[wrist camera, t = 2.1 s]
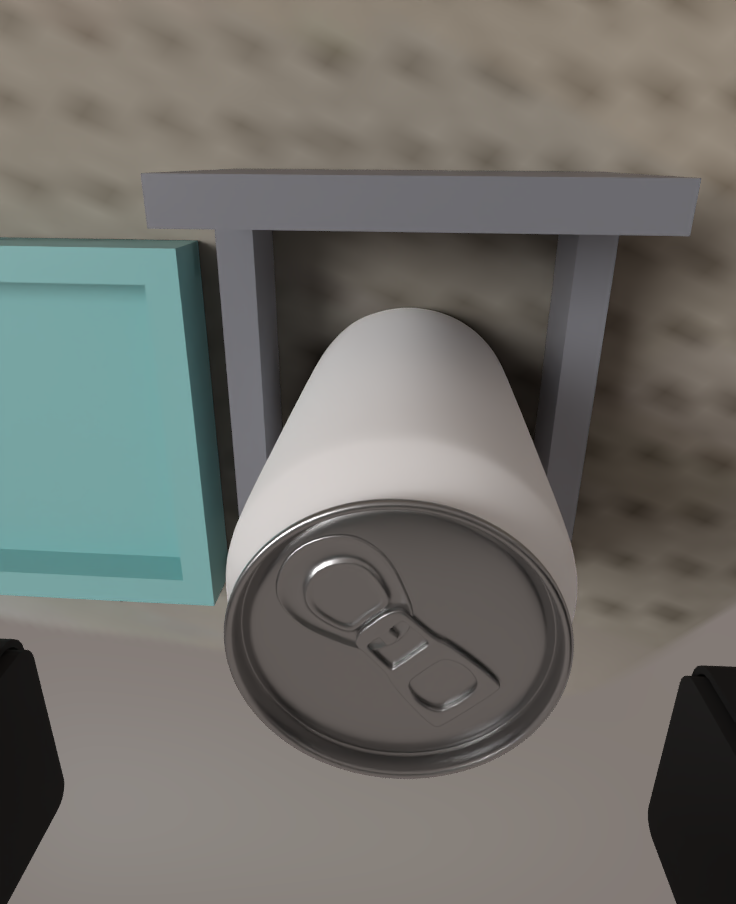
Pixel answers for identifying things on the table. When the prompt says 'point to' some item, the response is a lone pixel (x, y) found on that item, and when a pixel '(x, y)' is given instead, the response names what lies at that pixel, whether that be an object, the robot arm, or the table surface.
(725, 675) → the robot arm
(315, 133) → the table surface
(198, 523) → the tray
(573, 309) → the bay
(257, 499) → the can
